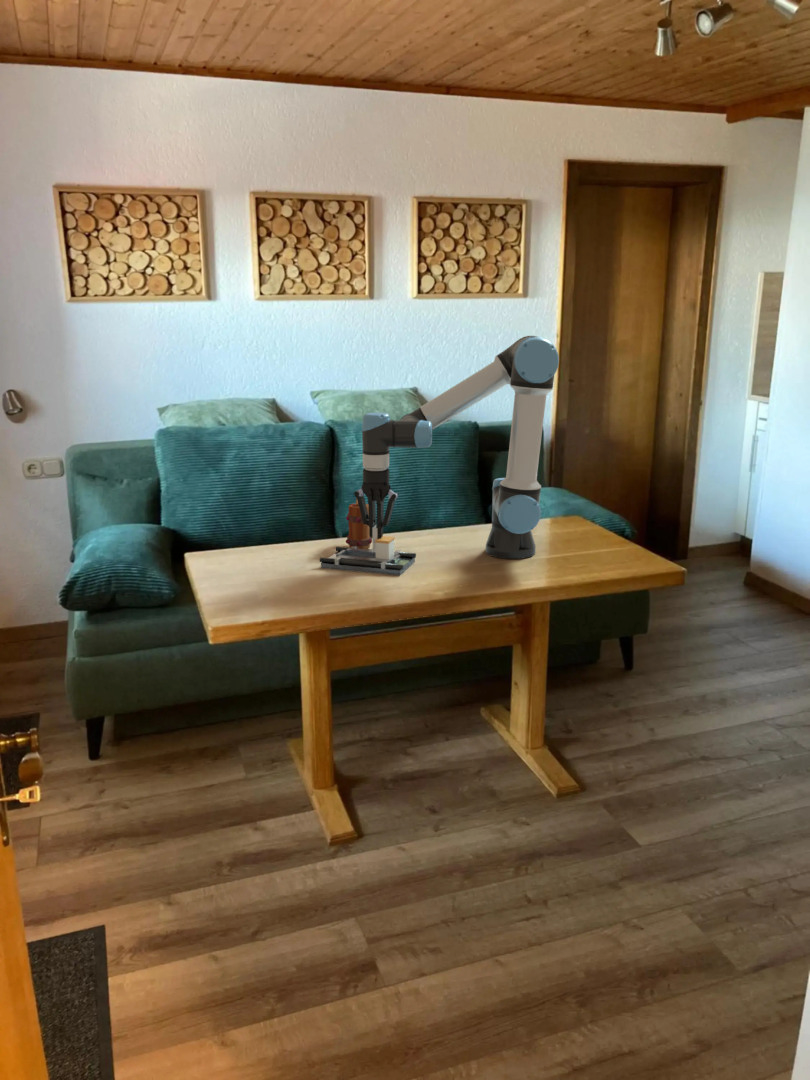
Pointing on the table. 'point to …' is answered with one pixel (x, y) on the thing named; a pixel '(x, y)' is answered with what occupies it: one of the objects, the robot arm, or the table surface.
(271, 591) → the table surface
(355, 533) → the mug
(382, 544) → the orange grey block
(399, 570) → the panel
